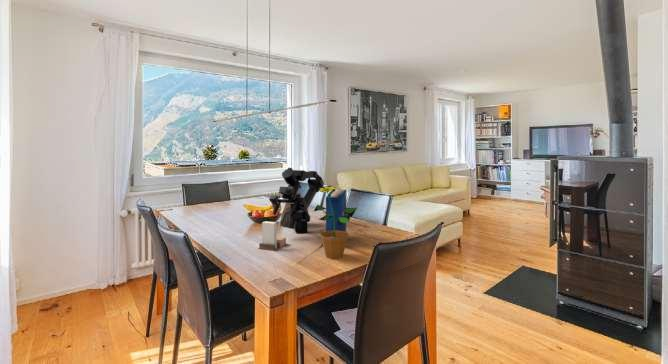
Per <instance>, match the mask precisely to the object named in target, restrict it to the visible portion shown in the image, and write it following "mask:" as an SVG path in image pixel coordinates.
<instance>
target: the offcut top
mask: <svg viewBox="0 0 668 364" xmlns="http://www.w3.org/2000/svg"><path fill="white" fill-rule="evenodd" d="M285 241H286V242H287V238H286V236H285V237H284V236H277V242H280V243H283V242H285Z"/></svg>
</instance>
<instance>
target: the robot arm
mask: <svg viewBox="0 0 668 364" xmlns="http://www.w3.org/2000/svg"><path fill="white" fill-rule="evenodd" d="M281 177H282V178H283V180H284V182H285V184H287V186H279V190H278V194H280V195H281V198H280V197H279V196H278V195H276V194H275V195H273V194H272V195H270V196H269V197H268V200H269V202H270V203H271V204H272V206H273V208H272V210H273V213H272V214H273V215H274V216H275V215H276V214H277V213H278V210H279V208H280V207H281V204H282V203H284V204H285V203H291V204H294V206H293V208H292V211H291V214H290V216H291V217H292V220H293V221H295V224H294V229H293V230H294V232H295V234H308V233H309V230H308V226H309V225H308V223H309V222H311V215H310V213H309V210H308V209H309V207H310V206H311V203H312V202H313V200H314V198H315V196H316V194H318V193H319V192H320V191H317V190H318V189H320V188H321V187H325V183H324V180H323V178H322V177H321V176H320V174H318V172H317V171H316V170H308V171H306V170H304V169H303V170H301V169H293V167H288V168H287V169H284V170H283V171H282V173H281ZM306 180H307V184H308V185H307V186H308V190H307V191H306V192H305V194H304V196H303V197H302V196H301V197H297V196H298V195H297V192H299V190H300V189H301V188H302V185H301V182H304V181H306ZM295 197H296V200H295Z"/></svg>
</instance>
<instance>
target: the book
mask: <svg viewBox="0 0 668 364" xmlns="http://www.w3.org/2000/svg"><path fill="white" fill-rule="evenodd" d="M328 195H329V199H330V202H329V199H328ZM330 203H331V205H330ZM331 206H332V209H333V213H334V219H335V221H336V220H337V219H338V217H339V216H340V217H342V216H346V215H347V214H346V213H345V212H343V211H342V210H344V209H346V208H347V189H340V188H339V189H335V190H333V191H329V192H328V193H327V195H326V196H325V208H326V209H325V212H326V213H327V214H330V215H333V213H332V209H331ZM341 212H342V213H341ZM340 214H341V215H340ZM338 220H339V219H338ZM338 220H337V221H336V223H335V230H338V231H345V232H347V223H346V224H342V225H338ZM331 230H334V220H333V216H332V217H330V218H329V219H327V220H325V231H331Z"/></svg>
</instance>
